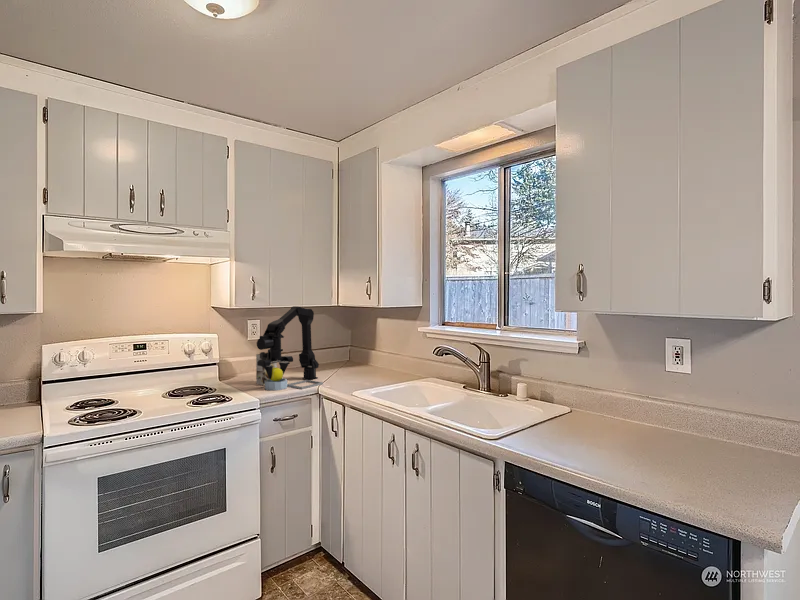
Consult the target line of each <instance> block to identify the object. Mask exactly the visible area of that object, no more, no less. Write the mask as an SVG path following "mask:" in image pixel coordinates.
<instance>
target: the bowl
mask: <svg viewBox="0 0 800 600" xmlns="http://www.w3.org/2000/svg"><path fill="white" fill-rule="evenodd" d="M287 384H288V379H287V378H283V377H282V379H281V380H280V381H272V380H271V379H267V380H265V385H264V389H265V391H281V390H282V389H283V390H286V389H287V388H288V387H287Z"/></svg>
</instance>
